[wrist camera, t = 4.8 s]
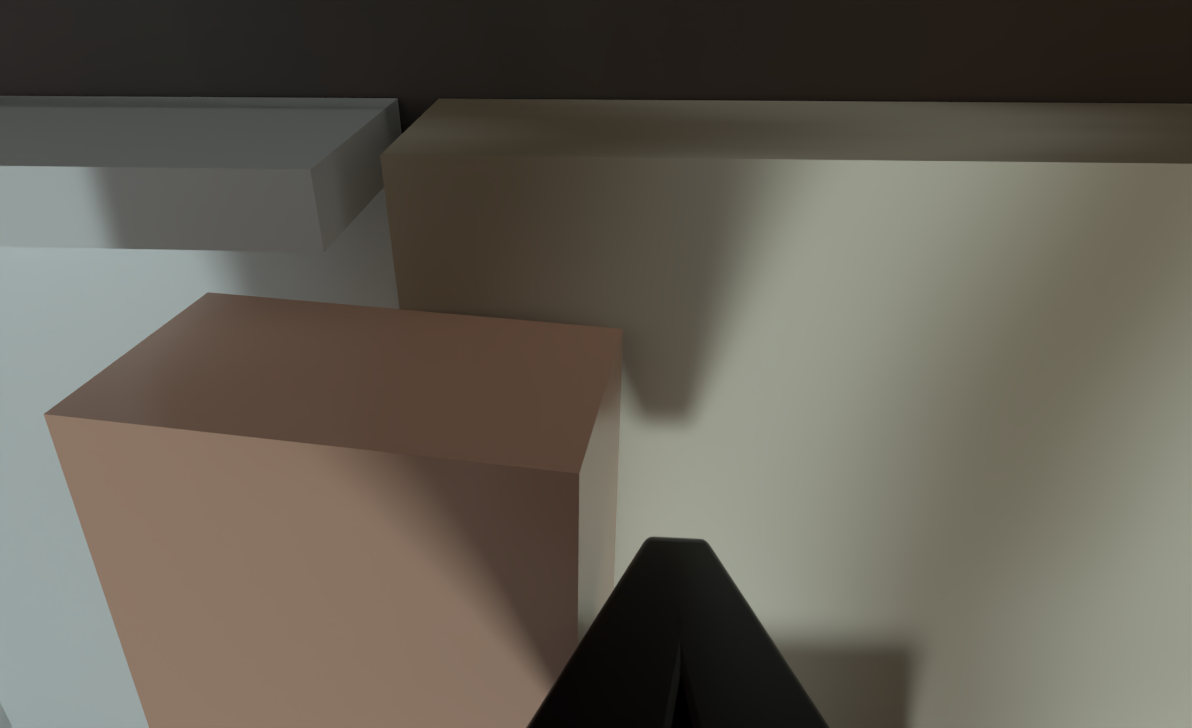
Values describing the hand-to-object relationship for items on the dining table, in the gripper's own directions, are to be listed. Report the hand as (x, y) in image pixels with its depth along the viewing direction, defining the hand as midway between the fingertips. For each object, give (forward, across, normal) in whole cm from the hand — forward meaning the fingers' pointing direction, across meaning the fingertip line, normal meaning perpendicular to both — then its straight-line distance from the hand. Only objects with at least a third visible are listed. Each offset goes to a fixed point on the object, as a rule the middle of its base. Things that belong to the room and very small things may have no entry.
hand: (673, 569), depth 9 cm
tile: (+1, +3, 0) cm, 3 cm away
